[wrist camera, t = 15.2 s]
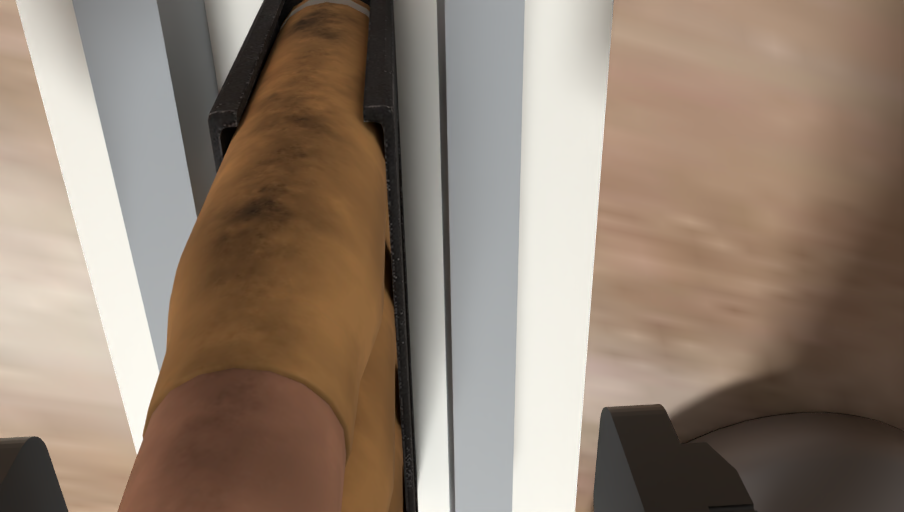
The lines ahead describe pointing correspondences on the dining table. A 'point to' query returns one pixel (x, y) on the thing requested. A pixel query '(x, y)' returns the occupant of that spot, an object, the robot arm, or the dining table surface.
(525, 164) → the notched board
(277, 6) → the ammunition clip
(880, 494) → the bobbin post
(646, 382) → the dining table surface
